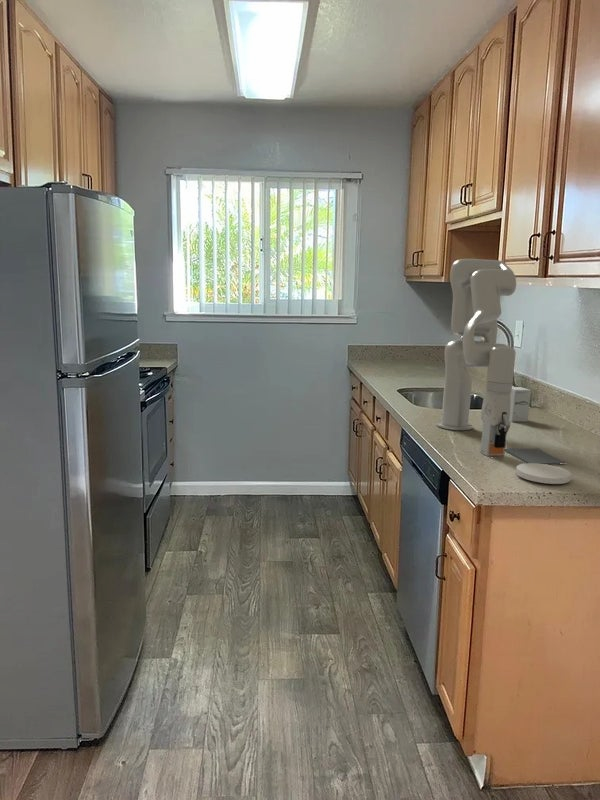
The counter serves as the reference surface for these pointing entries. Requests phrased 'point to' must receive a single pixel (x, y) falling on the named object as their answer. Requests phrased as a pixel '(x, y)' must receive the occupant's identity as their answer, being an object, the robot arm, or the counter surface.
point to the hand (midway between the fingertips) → (493, 443)
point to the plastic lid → (543, 473)
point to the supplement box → (519, 404)
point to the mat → (533, 456)
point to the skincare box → (489, 439)
